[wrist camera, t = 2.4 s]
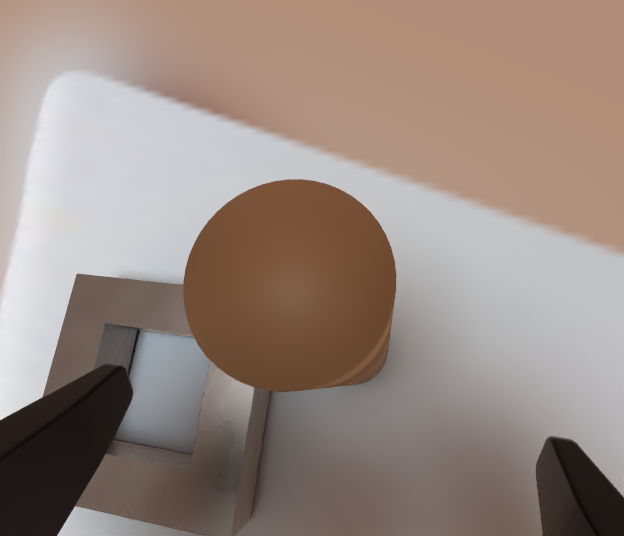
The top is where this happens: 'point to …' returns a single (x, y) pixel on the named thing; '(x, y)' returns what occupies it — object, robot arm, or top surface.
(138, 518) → the square hole frame
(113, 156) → the top surface
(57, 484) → the robot arm
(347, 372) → the walnut pin
